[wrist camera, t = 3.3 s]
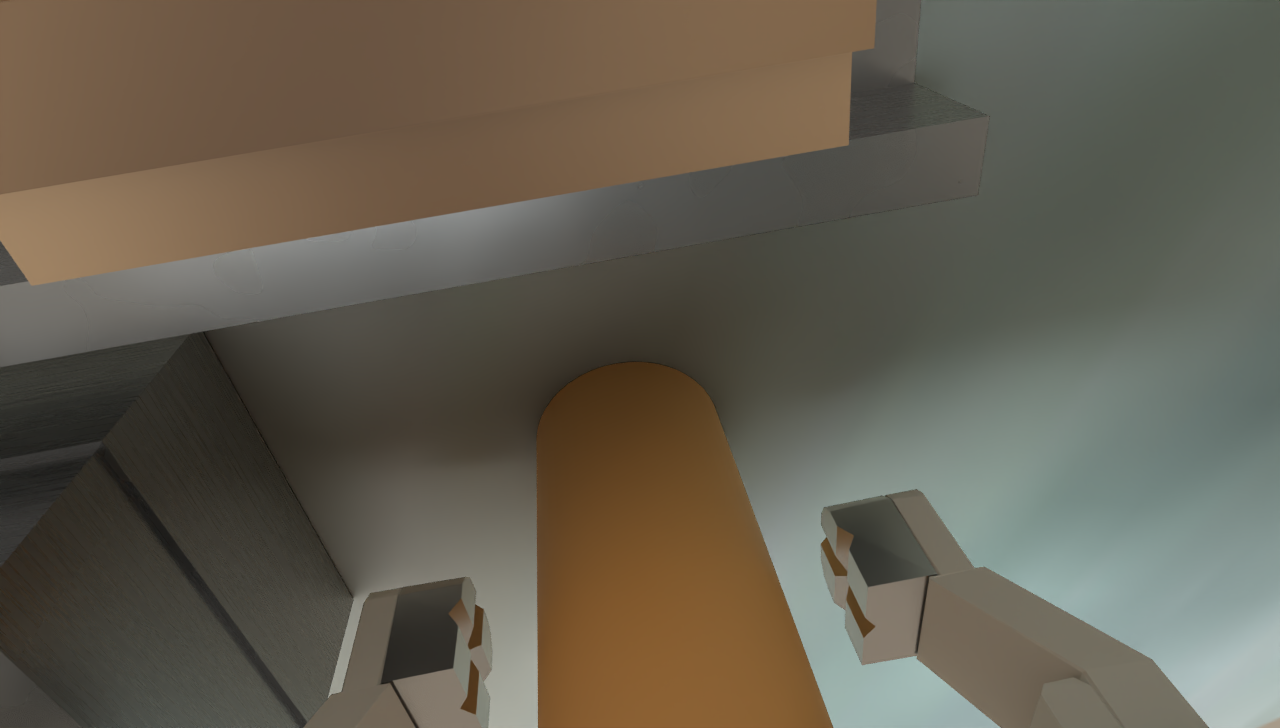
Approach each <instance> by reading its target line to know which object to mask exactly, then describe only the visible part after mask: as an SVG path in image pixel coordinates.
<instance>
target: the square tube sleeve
mask: <svg viewBox="0 0 1280 728" xmlns="http://www.w3.org/2000/svg"><path fill="white" fill-rule="evenodd" d="M352 604H353V598H352V596H351V595H350V593H349V591H348V589H347V588H346V586H345V584H344V582H343V580H342V579H341V577H340V575H339V573H338V572H337V570H336V568H335V566H334V564H333V563H332V561H331V559H330V557H329V555H328V554H327V552H326V550H325V548H324V547H323V545H322V543H321V541H320V539H319V538H318V536H317V534H316V532H315V531H314V529H313V527H312V525H311V523H310V522H309V520H308V518H307V516H306V515H305V513H304V511H303V509H302V507H301V506H300V504H299V502H298V500H297V499H296V497H295V495H294V493H293V491H292V490H291V488H290V486H289V484H288V483H287V481H286V479H285V477H284V475H283V474H282V472H281V470H280V468H279V467H278V465H277V463H276V461H275V459H274V458H273V456H272V454H271V452H270V451H269V449H268V447H267V445H266V443H265V442H264V440H263V438H262V436H261V434H260V433H259V431H258V429H257V427H256V426H255V424H254V422H253V420H252V418H251V417H250V415H249V413H248V411H247V410H246V408H245V406H244V404H243V402H242V401H241V399H240V397H239V395H238V394H237V392H236V390H235V388H234V386H233V385H232V383H231V381H230V379H229V378H228V376H227V374H226V372H225V370H224V369H223V367H222V365H221V363H220V362H219V360H218V358H217V356H216V354H215V353H214V351H213V349H212V347H211V346H210V344H209V342H208V340H207V338H206V337H205V335H204V333H203V332H197V333H191V334H186V335H180V336H174V337H169V338H163V339H157V340H152V341H146V342H140V343H135V344H129V345H123V346H118V347H112V348H106V349H101V350H95V351H89V352H83V353H78V354H72V355H66V356H61V357H55V358H49V359H44V360H38V361H32V362H27V363H21V364H15V365H10V366H4V367H0V728H303V727H304V726H305V725H306V724H307V722H308V721H309V720H310V719H311V718H312V717H313V715H314V714H315V713H316V712H317V711H318V710H319V708H320V707H321V706H322V705H323V704H324V702H325V701H326V700H327V698H328V695H329V691H330V687H331V683H332V679H333V676H334V672H335V668H336V664H337V661H338V657H339V653H340V649H341V645H342V642H343V638H344V634H345V630H346V627H347V623H348V619H349V615H350V611H351V608H352Z"/></svg>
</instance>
